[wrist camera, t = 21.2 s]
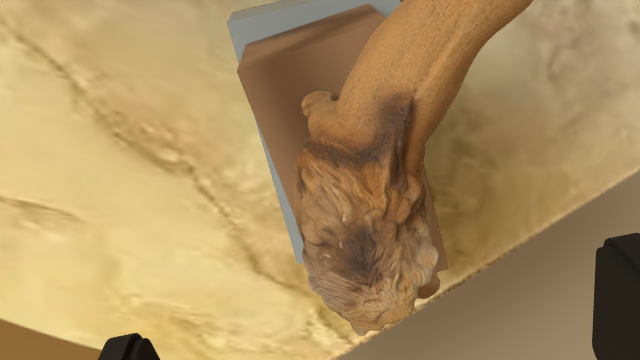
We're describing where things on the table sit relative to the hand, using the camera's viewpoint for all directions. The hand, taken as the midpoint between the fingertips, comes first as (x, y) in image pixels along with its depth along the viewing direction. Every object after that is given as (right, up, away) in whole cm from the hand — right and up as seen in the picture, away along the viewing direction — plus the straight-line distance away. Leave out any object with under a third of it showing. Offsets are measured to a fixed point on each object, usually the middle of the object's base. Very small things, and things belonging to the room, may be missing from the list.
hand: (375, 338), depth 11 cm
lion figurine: (+2, +8, +9) cm, 12 cm away
